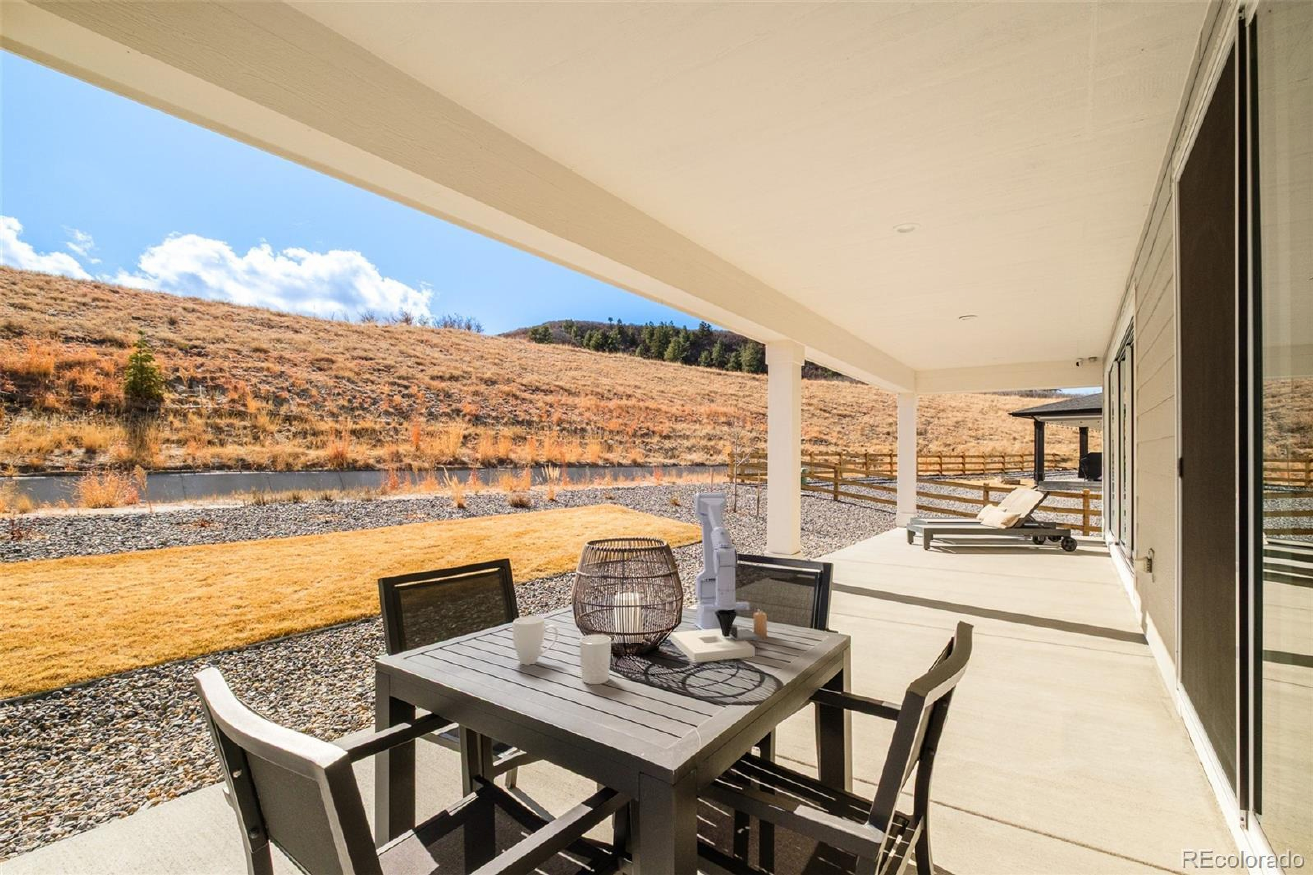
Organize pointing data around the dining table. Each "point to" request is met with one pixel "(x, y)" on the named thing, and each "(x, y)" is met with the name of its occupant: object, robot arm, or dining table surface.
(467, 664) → the dining table surface
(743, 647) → the socket plate
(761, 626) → the plug peg
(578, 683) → the dining table surface
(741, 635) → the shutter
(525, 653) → the mug
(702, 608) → the robot arm
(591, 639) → the white cup
